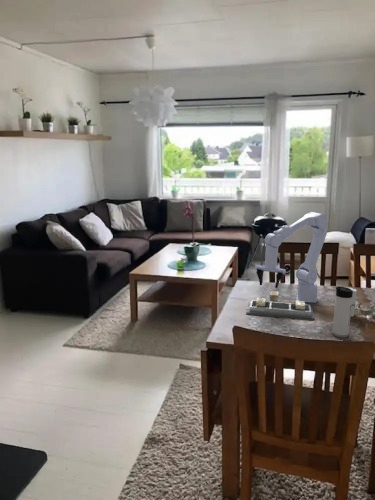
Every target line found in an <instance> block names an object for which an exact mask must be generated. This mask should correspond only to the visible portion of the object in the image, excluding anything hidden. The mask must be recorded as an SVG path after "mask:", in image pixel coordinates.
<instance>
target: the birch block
mask: <svg viewBox="0 0 375 500" xmlns="http://www.w3.org/2000/svg"><path fill="white" fill-rule="evenodd" d="M269 301H270V302H279V291H274V290H270V292H269Z"/></svg>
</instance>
